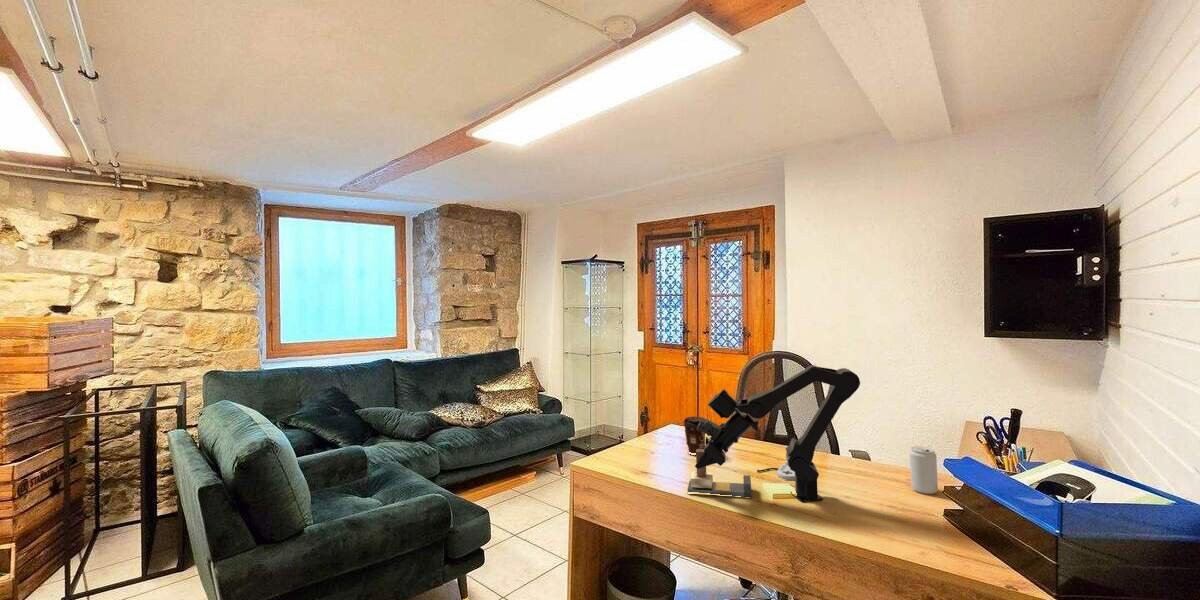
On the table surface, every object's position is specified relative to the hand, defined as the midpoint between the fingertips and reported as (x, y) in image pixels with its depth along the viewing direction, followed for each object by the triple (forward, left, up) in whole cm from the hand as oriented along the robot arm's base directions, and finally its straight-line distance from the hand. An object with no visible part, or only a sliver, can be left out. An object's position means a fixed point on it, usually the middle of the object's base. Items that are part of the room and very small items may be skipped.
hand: (696, 465), depth 149 cm
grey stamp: (-1, -1, -6) cm, 6 cm away
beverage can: (-14, -62, -8) cm, 64 cm away
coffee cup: (+34, -10, -8) cm, 36 cm away
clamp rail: (-2, -6, -8) cm, 10 cm away
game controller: (+10, -31, -8) cm, 34 cm away
